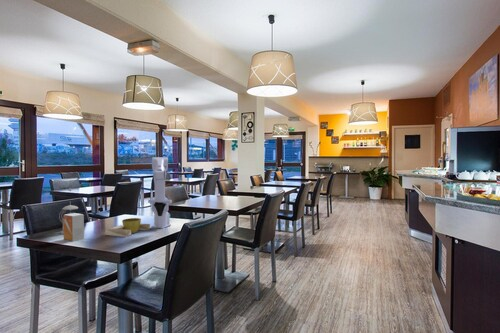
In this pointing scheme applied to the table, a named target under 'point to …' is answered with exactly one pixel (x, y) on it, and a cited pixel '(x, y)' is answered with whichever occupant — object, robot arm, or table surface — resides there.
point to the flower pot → (131, 224)
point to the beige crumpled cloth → (124, 230)
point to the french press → (67, 209)
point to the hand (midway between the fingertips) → (160, 215)
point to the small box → (73, 226)
